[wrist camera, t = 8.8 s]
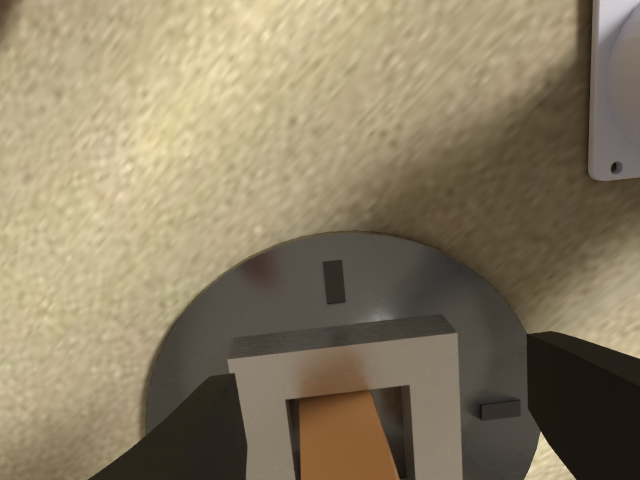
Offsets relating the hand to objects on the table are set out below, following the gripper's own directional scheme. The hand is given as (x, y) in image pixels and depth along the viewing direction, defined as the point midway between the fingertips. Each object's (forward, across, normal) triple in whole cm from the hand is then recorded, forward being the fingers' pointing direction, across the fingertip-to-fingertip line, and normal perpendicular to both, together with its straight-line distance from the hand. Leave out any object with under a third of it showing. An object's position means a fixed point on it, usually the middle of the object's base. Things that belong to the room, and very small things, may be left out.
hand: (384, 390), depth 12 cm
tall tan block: (+9, +1, +6) cm, 11 cm away
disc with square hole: (+9, +1, +7) cm, 12 cm away
